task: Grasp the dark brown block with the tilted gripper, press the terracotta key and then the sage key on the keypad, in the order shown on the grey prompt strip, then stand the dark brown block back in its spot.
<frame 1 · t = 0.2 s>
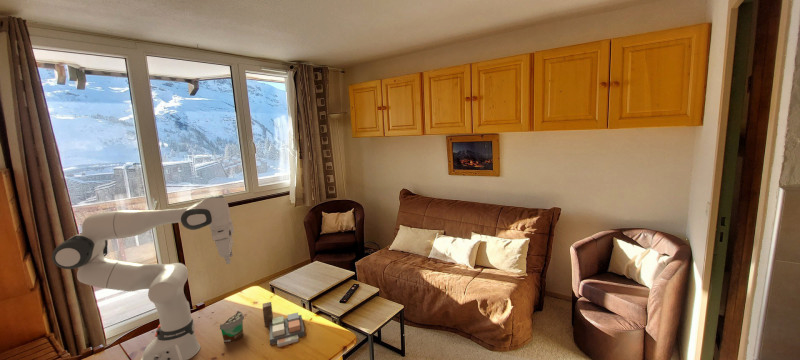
hand: (229, 259, 146), 39 cm above the table, tool pointing down, fingers open, 8 cm apart
keypad: (286, 331, 156), on the table
key slate: (293, 318, 160), point 4 cm above the table, slide at 0.0 cm
key cream: (278, 330, 151), point 4 cm above the table, slide at 0.0 cm
key sage: (278, 322, 157), point 4 cm above the table, slide at 0.0 cm
food container: (237, 337, 153), on the table
dark brown block: (269, 323, 163), on the table
key terracotta: (294, 326, 153), point 4 cm above the table, slide at 0.0 cm
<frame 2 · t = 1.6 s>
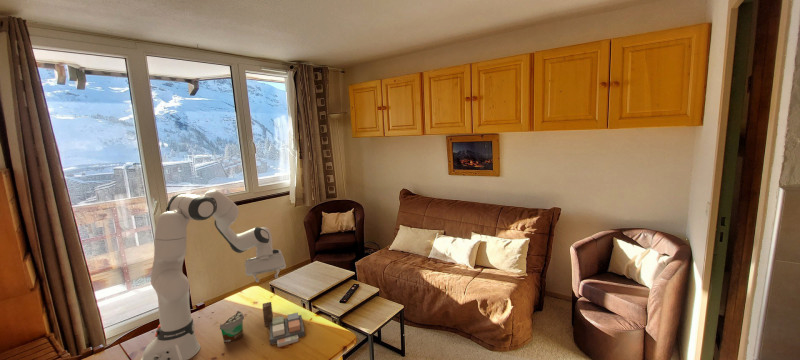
hand: (266, 279, 171), 18 cm above the table, tool tilted 45°, fingers open, 8 cm apart
nothing on the table moved.
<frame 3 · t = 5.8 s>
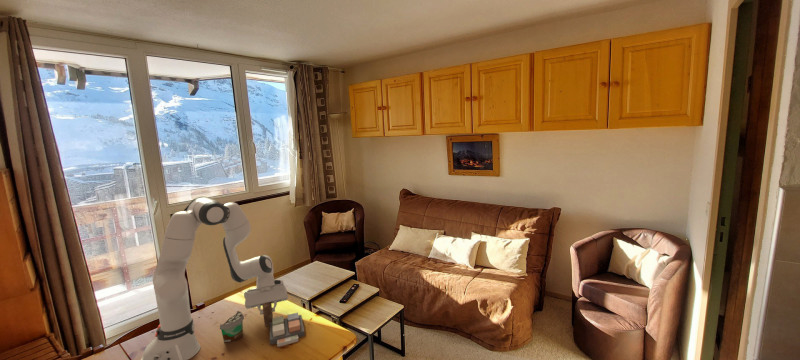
hand: (267, 312, 162), 6 cm above the table, tool tilted 45°, fingers closed on dark brown block, 4 cm apart
dark brown block: (269, 323, 163), on the table, touching gripper
everything else where it was.
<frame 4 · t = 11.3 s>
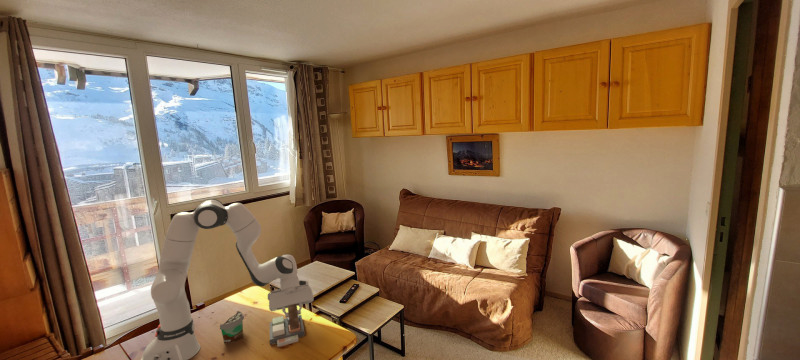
hand: (293, 315, 152), 9 cm above the table, tool tilted 45°, fingers closed on dark brown block, 4 cm apart
dark brown block: (294, 326, 153), point 3 cm above the table, touching gripper, key terracotta
key terracotta: (294, 329, 153), point 2 cm above the table, slide at 1.5 cm, touching dark brown block
everything else where it was.
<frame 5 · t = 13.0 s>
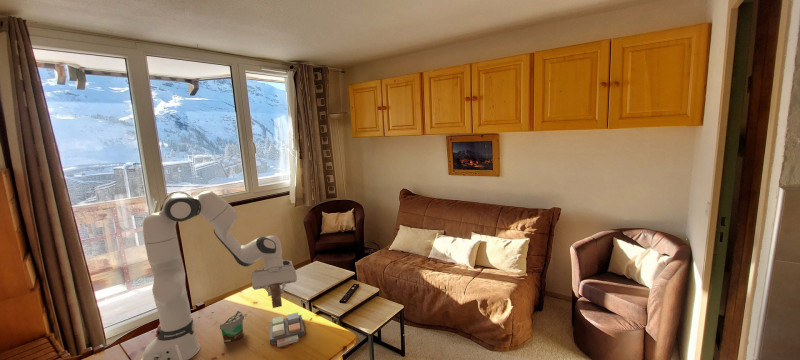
hand: (276, 294, 153), 19 cm above the table, tool tilted 45°, fingers closed on dark brown block, 4 cm apart
dark brown block: (277, 305, 155), point 13 cm above the table, touching gripper
key terracotta: (294, 329, 153), point 2 cm above the table, slide at 1.5 cm
everything else where it was.
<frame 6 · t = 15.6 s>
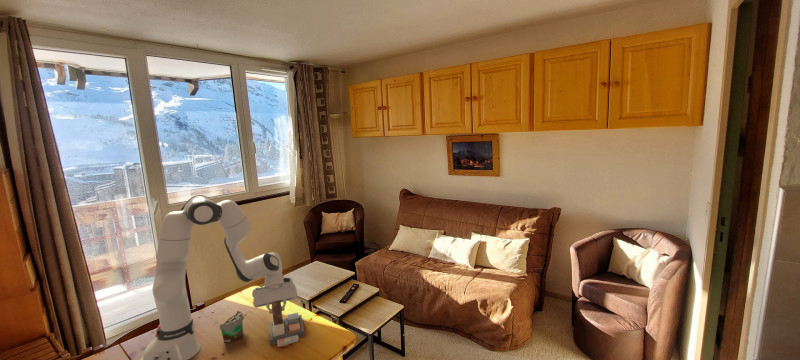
hand: (277, 311, 156), 9 cm above the table, tool tilted 45°, fingers closed on dark brown block, 4 cm apart
key sage: (278, 324, 157), point 2 cm above the table, slide at 1.4 cm, touching dark brown block
dark brown block: (278, 322, 157), point 4 cm above the table, touching gripper, key sage
everything else where it was.
when the fingers open (7 cm above the table, at t = 20.2 s): dark brown block drops 2 cm, on the table.
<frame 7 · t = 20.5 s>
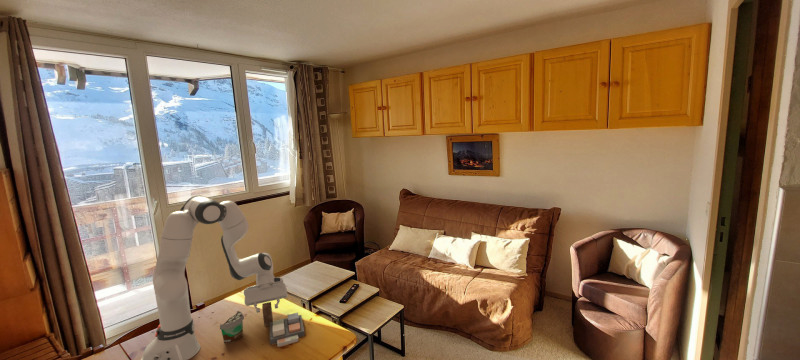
hand: (267, 310, 162), 7 cm above the table, tool tilted 45°, fingers open, 7 cm apart
key sage: (278, 325, 157), point 2 cm above the table, slide at 1.5 cm
dark brown block: (268, 323, 163), on the table
everything else where it was.
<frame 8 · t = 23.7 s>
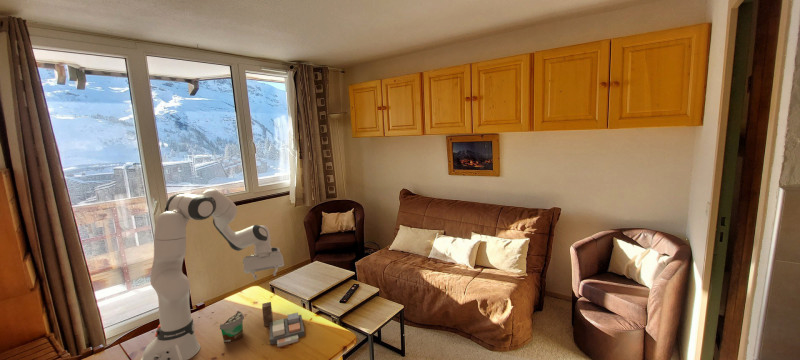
hand: (265, 277, 172), 19 cm above the table, tool tilted 45°, fingers open, 8 cm apart
nothing on the table moved.
at the end: key terracotta slide at 1.5 cm; key sage slide at 1.5 cm; key slate slide at 0.0 cm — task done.
